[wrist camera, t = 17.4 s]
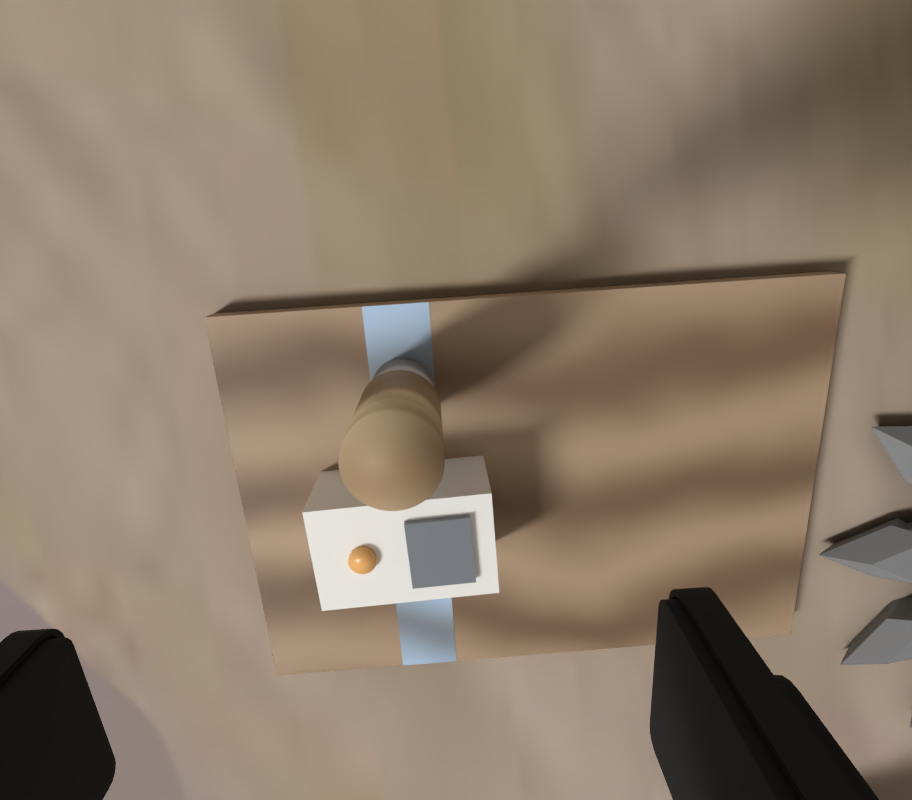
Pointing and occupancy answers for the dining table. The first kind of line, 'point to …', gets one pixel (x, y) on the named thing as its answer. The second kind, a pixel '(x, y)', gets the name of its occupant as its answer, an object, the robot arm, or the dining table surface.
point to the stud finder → (403, 542)
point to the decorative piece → (883, 567)
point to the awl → (395, 439)
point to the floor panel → (549, 455)
